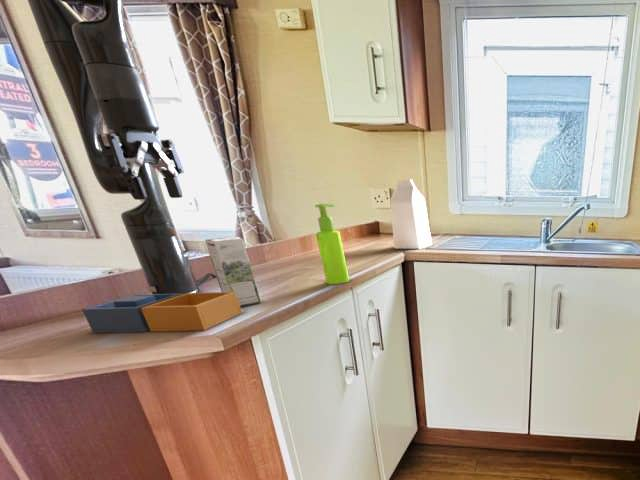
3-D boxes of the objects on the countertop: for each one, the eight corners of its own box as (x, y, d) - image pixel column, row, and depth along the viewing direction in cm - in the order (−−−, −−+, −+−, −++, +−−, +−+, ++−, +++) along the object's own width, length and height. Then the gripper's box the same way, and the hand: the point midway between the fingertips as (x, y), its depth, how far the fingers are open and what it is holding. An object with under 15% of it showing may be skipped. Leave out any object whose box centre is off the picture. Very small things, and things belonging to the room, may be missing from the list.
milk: (394, 248, 179) (384, 180, 168) (408, 244, 189) (399, 180, 178) (419, 248, 175) (410, 179, 164) (432, 244, 185) (424, 179, 174)
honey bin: (194, 314, 90) (186, 293, 88) (242, 313, 90) (235, 291, 88) (150, 331, 80) (140, 307, 78) (204, 330, 79) (195, 306, 77)
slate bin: (143, 315, 91) (134, 294, 89) (190, 314, 90) (182, 293, 88) (93, 333, 80) (81, 309, 78) (146, 331, 80) (136, 307, 78)
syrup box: (251, 299, 101) (232, 236, 95) (262, 302, 98) (242, 237, 91) (225, 304, 97) (203, 238, 91) (235, 308, 94) (213, 240, 87)
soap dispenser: (355, 279, 120) (341, 202, 111) (340, 284, 114) (323, 204, 105) (338, 278, 121) (322, 203, 113) (322, 283, 115) (304, 204, 107)
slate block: (141, 317, 87) (132, 296, 85) (162, 317, 87) (153, 295, 85) (122, 324, 83) (112, 301, 81) (144, 323, 83) (135, 301, 81)
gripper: (137, 106, 81) (170, 198, 89) (63, 92, 69) (108, 200, 76) (174, 104, 81) (204, 196, 88) (106, 90, 68) (147, 199, 75)
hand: (159, 198), depth 82 cm, fingers open, 8 cm apart
